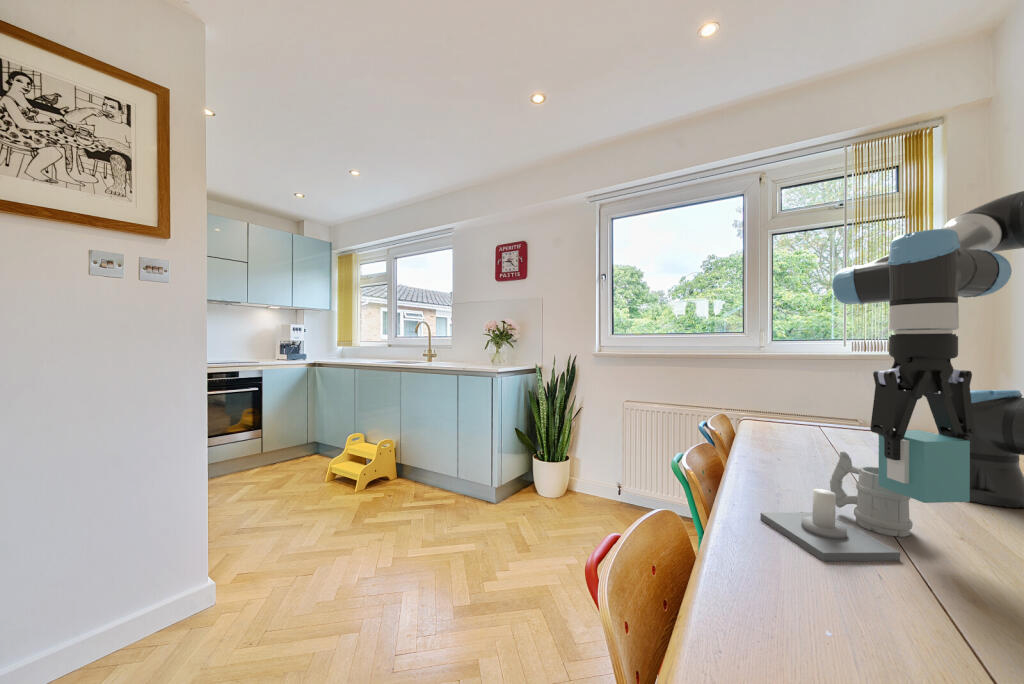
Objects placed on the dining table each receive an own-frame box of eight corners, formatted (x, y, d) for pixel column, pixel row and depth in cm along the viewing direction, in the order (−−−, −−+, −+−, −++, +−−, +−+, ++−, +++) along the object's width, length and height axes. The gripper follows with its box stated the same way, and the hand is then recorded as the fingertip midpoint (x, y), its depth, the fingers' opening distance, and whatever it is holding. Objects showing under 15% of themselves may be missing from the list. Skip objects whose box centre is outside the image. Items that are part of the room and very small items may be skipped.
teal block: (919, 484, 66) (919, 430, 66) (969, 501, 59) (969, 440, 59) (878, 485, 66) (878, 430, 66) (924, 502, 59) (924, 441, 59)
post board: (823, 519, 74) (824, 477, 74) (900, 560, 60) (901, 509, 60) (760, 519, 74) (761, 477, 74) (823, 560, 60) (824, 509, 60)
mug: (901, 542, 66) (902, 469, 66) (819, 513, 76) (820, 451, 76) (920, 532, 69) (921, 463, 69) (839, 506, 80) (840, 446, 80)
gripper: (955, 332, 66) (954, 470, 67) (839, 333, 66) (839, 473, 66) (1013, 331, 59) (1013, 487, 59) (884, 332, 58) (883, 490, 58)
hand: (921, 479), depth 62 cm, fingers closed on teal block, 7 cm apart
